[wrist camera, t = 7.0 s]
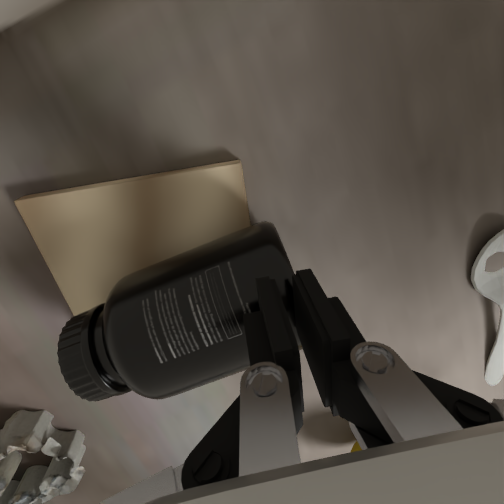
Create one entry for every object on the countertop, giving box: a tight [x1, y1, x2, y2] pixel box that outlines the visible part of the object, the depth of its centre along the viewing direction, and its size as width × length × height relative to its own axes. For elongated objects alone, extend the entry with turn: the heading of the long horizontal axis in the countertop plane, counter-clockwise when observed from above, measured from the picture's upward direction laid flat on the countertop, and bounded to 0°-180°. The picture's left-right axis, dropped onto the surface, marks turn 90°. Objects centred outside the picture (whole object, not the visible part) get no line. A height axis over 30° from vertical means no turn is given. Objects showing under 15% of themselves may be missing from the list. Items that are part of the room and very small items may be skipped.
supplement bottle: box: [57, 221, 303, 401], centre depth 16 cm, size 7×7×12 cm
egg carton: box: [0, 410, 86, 504], centre depth 25 cm, size 11×8×4 cm
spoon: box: [471, 229, 504, 386], centre depth 25 cm, size 4×21×2 cm, turn 21°
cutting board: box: [14, 160, 251, 316], centre depth 19 cm, size 12×11×1 cm
